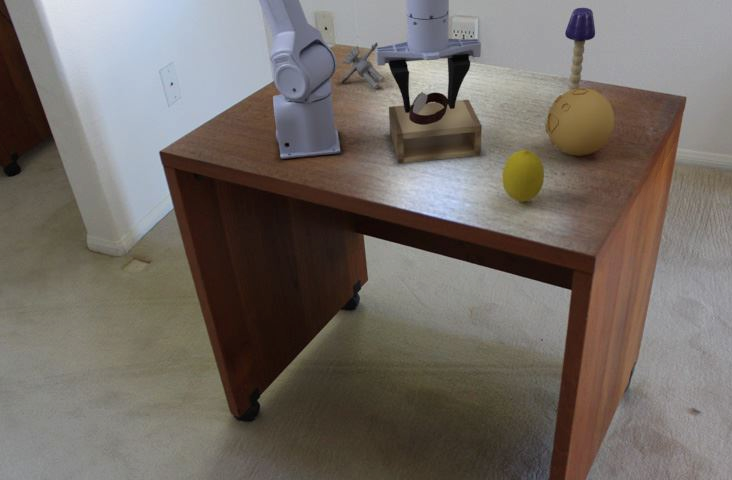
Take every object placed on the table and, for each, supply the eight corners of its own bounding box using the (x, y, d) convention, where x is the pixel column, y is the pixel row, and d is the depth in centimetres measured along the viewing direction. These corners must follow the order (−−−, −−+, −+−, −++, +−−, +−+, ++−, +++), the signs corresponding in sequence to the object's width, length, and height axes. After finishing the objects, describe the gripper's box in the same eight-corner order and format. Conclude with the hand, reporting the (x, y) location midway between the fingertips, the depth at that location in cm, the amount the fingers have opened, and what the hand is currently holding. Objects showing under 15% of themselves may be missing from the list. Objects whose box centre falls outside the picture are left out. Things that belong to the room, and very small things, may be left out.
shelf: (397, 163, 115) (396, 133, 112) (390, 135, 123) (388, 106, 120) (480, 155, 116) (481, 125, 113) (468, 128, 124) (468, 99, 121)
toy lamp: (591, 112, 126) (604, 11, 116) (567, 118, 125) (578, 16, 114) (575, 102, 129) (586, 3, 119) (552, 107, 128) (561, 8, 118)
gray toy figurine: (354, 98, 136) (326, 69, 140) (368, 110, 142) (340, 82, 145) (392, 56, 134) (362, 28, 138) (405, 70, 140) (376, 43, 143)
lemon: (537, 191, 106) (541, 139, 101) (545, 211, 102) (550, 158, 97) (498, 193, 106) (500, 141, 101) (504, 213, 102) (507, 160, 97)
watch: (429, 104, 114) (429, 81, 111) (456, 110, 111) (456, 87, 109) (401, 123, 109) (400, 100, 107) (428, 130, 107) (427, 106, 104)
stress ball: (616, 143, 117) (625, 81, 110) (600, 171, 110) (610, 107, 104) (553, 133, 120) (559, 73, 114) (535, 160, 113) (540, 97, 107)
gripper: (377, 26, 97) (382, 123, 106) (486, 17, 98) (483, 114, 106) (372, 10, 103) (377, 104, 111) (476, 2, 104) (473, 95, 112)
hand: (428, 108), depth 109 cm, fingers closed on watch, 6 cm apart
